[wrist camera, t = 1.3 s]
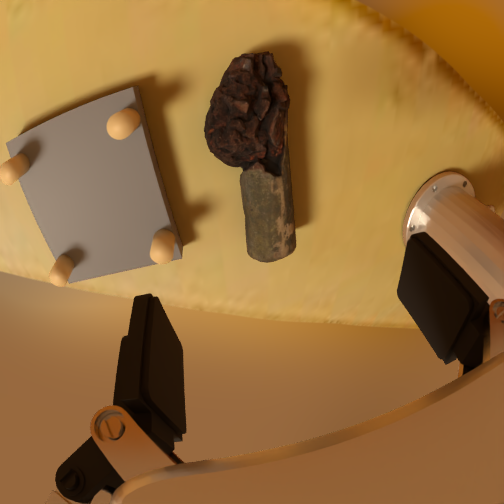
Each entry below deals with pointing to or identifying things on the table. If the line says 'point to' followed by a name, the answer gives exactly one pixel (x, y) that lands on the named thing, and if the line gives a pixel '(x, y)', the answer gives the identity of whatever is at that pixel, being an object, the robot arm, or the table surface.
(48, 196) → the pipe stand
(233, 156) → the dark elongated piece
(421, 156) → the table surface
